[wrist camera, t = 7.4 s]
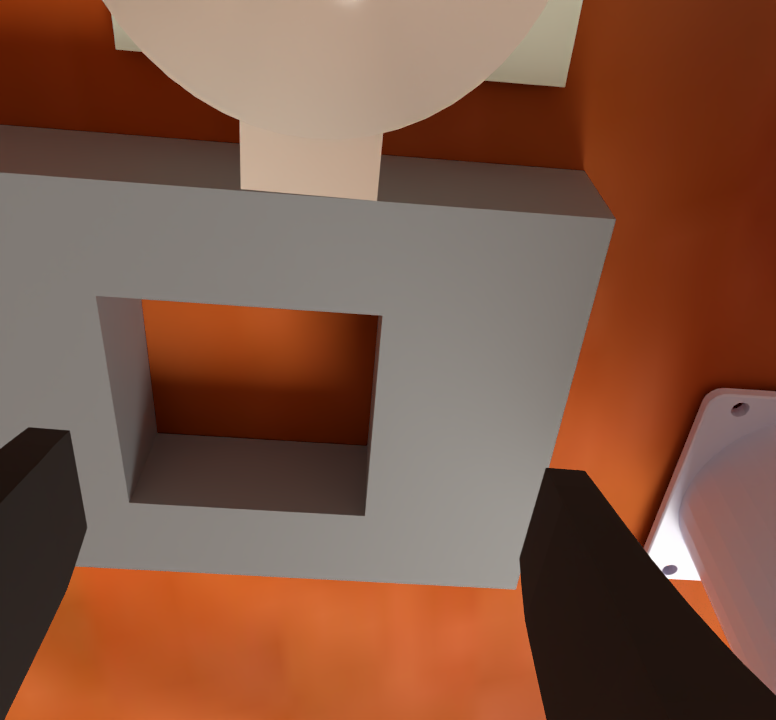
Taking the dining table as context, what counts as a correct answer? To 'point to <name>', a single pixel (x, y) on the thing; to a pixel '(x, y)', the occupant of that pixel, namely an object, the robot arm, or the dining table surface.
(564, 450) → the dining table surface
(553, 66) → the mat
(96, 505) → the holder
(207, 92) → the cream strapped capsule
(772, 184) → the dining table surface
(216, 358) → the dining table surface
